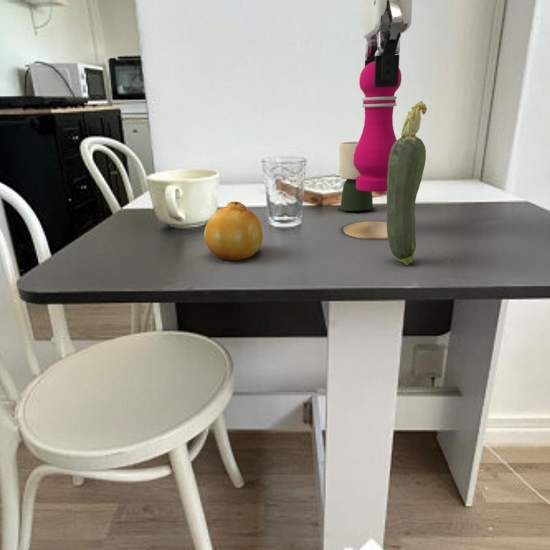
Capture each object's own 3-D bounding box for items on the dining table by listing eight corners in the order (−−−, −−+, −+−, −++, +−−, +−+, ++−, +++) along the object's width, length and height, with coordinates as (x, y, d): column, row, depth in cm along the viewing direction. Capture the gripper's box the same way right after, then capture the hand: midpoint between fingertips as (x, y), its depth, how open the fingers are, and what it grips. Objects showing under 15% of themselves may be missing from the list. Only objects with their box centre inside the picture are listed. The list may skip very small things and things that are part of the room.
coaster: (401, 224, 76) (401, 221, 76) (409, 240, 67) (409, 237, 67) (343, 224, 78) (343, 221, 78) (343, 240, 69) (343, 237, 68)
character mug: (388, 214, 83) (392, 143, 78) (356, 219, 81) (358, 146, 76) (356, 204, 93) (358, 139, 88) (327, 208, 90) (327, 142, 85)
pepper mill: (380, 194, 65) (387, 43, 58) (343, 189, 70) (345, 50, 63) (408, 187, 69) (417, 46, 62) (371, 182, 75) (376, 52, 67)
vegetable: (380, 266, 57) (388, 102, 50) (384, 256, 61) (392, 102, 54) (416, 269, 56) (429, 100, 48) (418, 258, 59) (431, 100, 52)
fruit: (275, 232, 66) (245, 188, 63) (269, 254, 59) (234, 205, 56) (232, 258, 69) (201, 216, 66) (221, 281, 61) (186, 236, 59)
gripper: (438, -88, 50) (425, 84, 56) (396, -41, 66) (390, 88, 72) (372, -86, 50) (367, 86, 56) (346, -39, 66) (344, 90, 72)
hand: (380, 86), depth 64 cm, fingers closed on pepper mill, 6 cm apart
